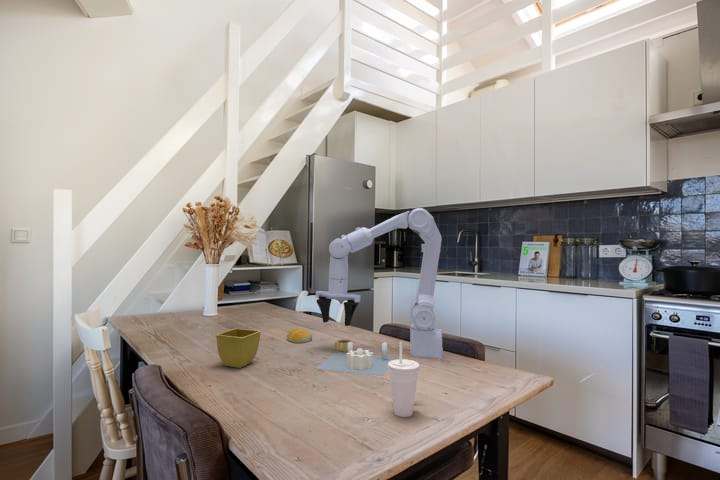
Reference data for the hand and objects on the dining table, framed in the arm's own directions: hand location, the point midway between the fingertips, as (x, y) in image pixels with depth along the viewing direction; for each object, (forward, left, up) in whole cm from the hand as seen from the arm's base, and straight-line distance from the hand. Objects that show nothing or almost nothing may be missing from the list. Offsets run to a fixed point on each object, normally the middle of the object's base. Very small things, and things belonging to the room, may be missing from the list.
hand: (336, 323), depth 113 cm
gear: (-11, +11, -8) cm, 17 cm away
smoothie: (-26, +32, -10) cm, 43 cm away
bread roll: (+19, -14, -10) cm, 26 cm away
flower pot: (+23, +16, -10) cm, 30 cm away
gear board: (-9, +8, -10) cm, 16 cm away
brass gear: (-1, -4, -10) cm, 10 cm away
